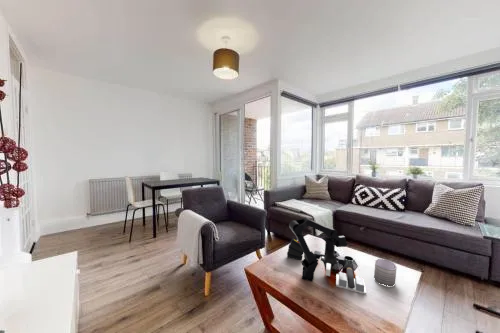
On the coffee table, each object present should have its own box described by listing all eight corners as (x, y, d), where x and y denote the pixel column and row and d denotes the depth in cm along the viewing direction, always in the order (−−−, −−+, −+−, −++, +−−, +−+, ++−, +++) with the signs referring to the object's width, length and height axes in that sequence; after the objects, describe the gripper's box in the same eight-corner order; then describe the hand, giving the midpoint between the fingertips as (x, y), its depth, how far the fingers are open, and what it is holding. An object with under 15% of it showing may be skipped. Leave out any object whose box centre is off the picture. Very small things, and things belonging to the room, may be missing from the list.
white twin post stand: (336, 286, 122) (336, 278, 121) (336, 275, 133) (336, 268, 132) (366, 294, 116) (367, 286, 115) (363, 282, 127) (364, 274, 126)
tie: (326, 265, 138) (327, 260, 137) (330, 266, 137) (330, 260, 136) (325, 275, 127) (326, 269, 126) (329, 276, 126) (330, 270, 125)
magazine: (283, 252, 157) (292, 237, 154) (298, 263, 154) (308, 247, 151) (282, 255, 153) (292, 239, 150) (298, 265, 150) (308, 249, 147)
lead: (354, 289, 118) (355, 283, 118) (347, 287, 119) (348, 281, 119) (352, 273, 133) (352, 268, 133) (346, 272, 135) (346, 267, 134)
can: (398, 284, 126) (400, 265, 125) (389, 289, 120) (390, 270, 120) (379, 274, 136) (381, 257, 135) (369, 278, 130) (371, 261, 129)
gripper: (313, 249, 127) (312, 272, 128) (346, 256, 119) (344, 281, 121) (315, 242, 137) (313, 264, 138) (345, 248, 130) (343, 271, 131)
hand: (328, 270), depth 132 cm, fingers closed on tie, 2 cm apart
